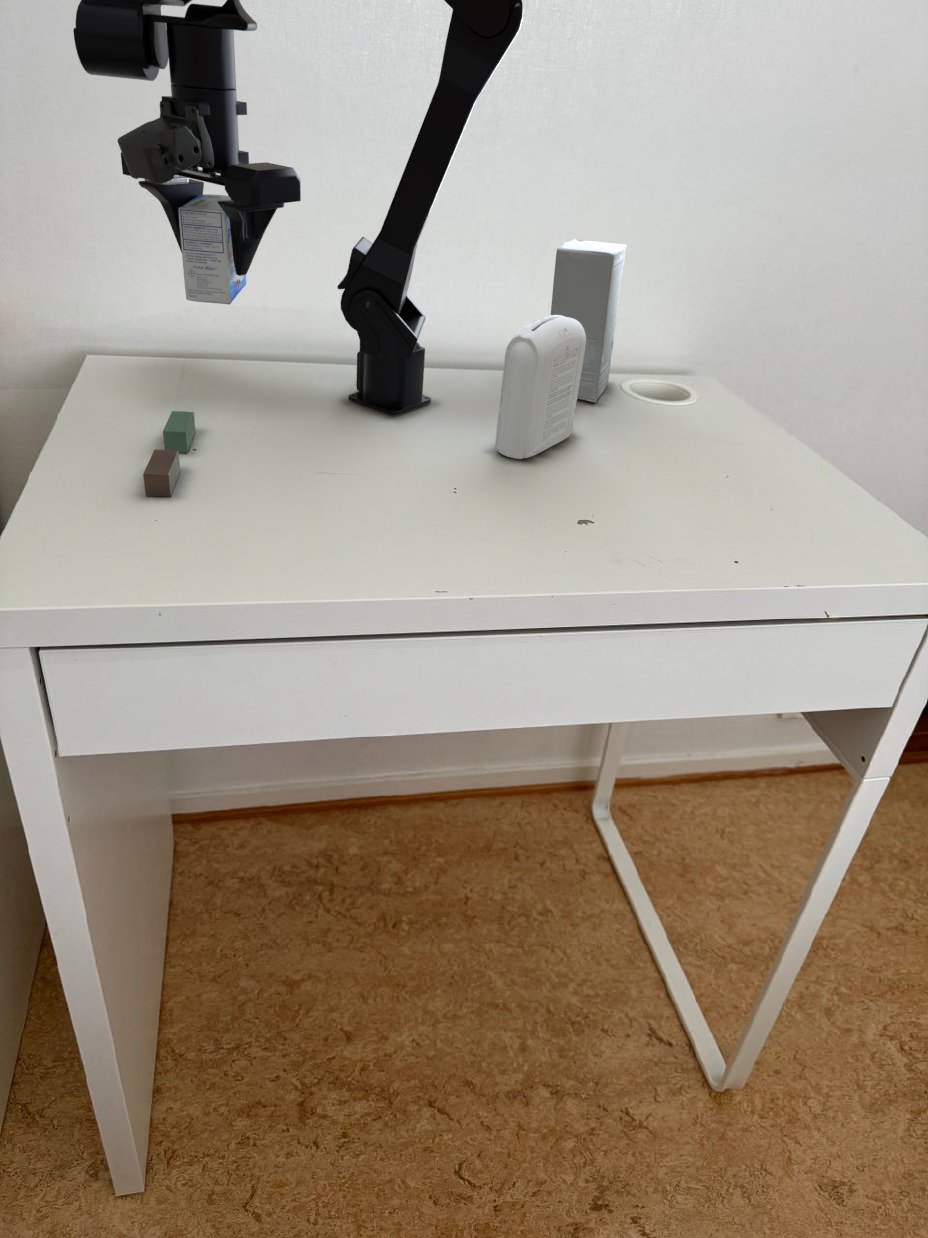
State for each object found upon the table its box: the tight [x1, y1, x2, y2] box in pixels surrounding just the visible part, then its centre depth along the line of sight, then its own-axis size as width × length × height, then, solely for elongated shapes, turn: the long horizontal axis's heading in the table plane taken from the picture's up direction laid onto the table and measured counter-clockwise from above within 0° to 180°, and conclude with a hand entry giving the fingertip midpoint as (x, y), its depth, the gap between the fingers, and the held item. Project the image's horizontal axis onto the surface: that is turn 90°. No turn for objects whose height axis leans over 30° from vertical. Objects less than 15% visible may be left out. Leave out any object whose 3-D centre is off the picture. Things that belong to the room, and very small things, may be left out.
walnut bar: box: [142, 448, 181, 498], centre depth 76 cm, size 5×2×2 cm, turn 6°
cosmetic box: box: [550, 239, 628, 403], centre depth 102 cm, size 8×7×16 cm
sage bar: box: [162, 410, 196, 454], centre depth 83 cm, size 5×2×2 cm, turn 6°
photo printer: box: [495, 314, 586, 460], centre depth 87 cm, size 10×4×12 cm, turn 146°
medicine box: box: [179, 193, 247, 306], centre depth 90 cm, size 8×4×9 cm, turn 0°
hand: (214, 267), depth 91 cm, fingers closed on medicine box, 7 cm apart
